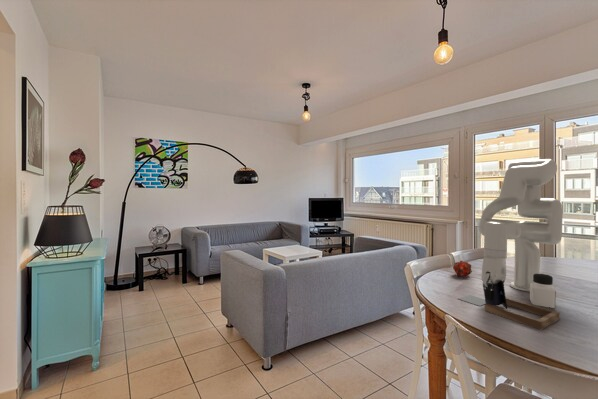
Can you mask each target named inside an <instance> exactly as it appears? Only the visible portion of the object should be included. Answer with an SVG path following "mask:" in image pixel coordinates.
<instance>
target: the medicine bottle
mask: <svg viewBox="0 0 598 399" xmlns="http://www.w3.org/2000/svg"><path fill="white" fill-rule="evenodd" d="M553 281H554V279H553V277H552V276H551V275H550V274H546V273H541V272H540V273H537V274H534V275H533V283H530V292H529V300H530V303H531V305H534V306H538V307H542V308H549V307H550V309H556V297H557V294H556V292H557V291H556V289H555V288H554V285H553Z"/></svg>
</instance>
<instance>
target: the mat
mask: <svg viewBox="0 0 598 399" xmlns="http://www.w3.org/2000/svg"><path fill="white" fill-rule="evenodd" d="M457 300H460V301H463V302H466V303H468V304H472V305H475V306H478V307H482V306H485V304H486V302H485V298H482V297H479V296H475V295H472V294H468V295H464V296H461V297H458V298H457Z"/></svg>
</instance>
